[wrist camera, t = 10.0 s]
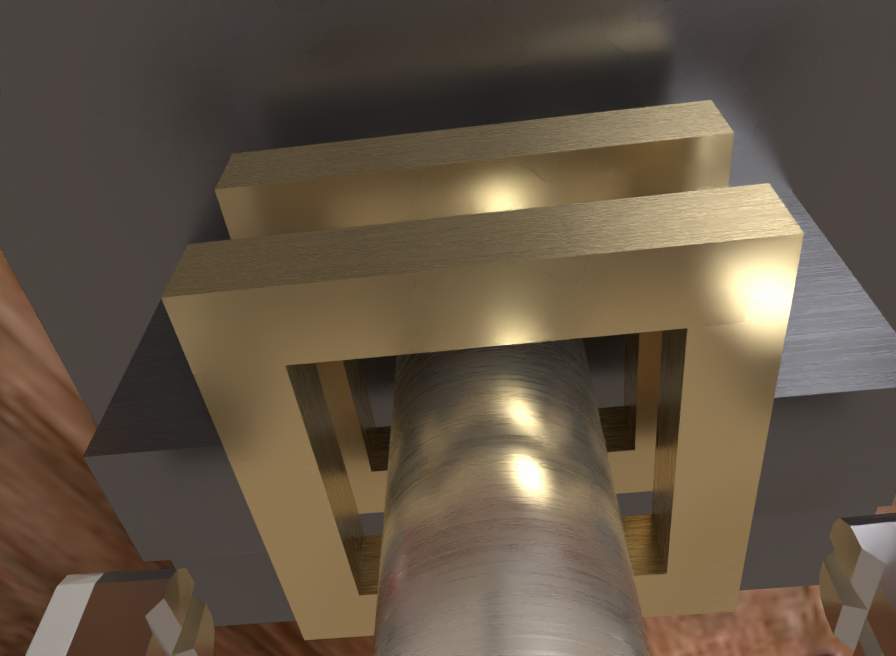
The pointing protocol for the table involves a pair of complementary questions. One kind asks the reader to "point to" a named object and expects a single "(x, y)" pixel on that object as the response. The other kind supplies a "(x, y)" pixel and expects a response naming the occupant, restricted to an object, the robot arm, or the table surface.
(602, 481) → the metal tube
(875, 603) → the robot arm
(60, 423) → the table surface
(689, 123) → the collar stand
